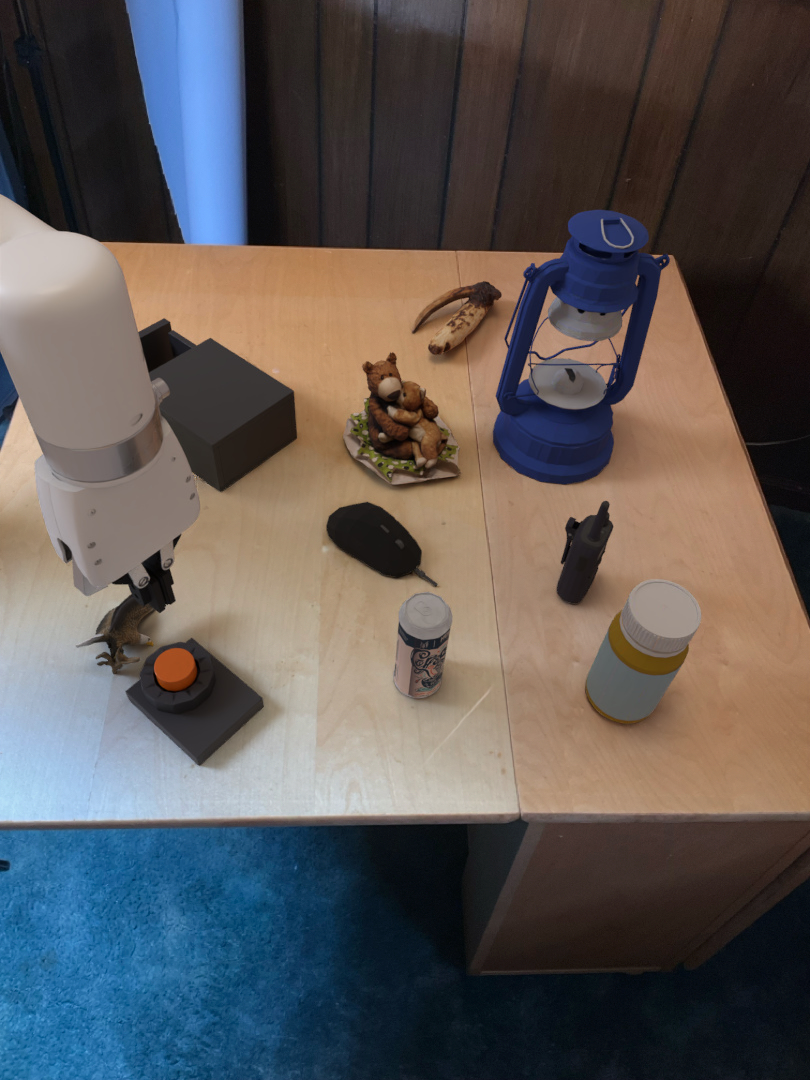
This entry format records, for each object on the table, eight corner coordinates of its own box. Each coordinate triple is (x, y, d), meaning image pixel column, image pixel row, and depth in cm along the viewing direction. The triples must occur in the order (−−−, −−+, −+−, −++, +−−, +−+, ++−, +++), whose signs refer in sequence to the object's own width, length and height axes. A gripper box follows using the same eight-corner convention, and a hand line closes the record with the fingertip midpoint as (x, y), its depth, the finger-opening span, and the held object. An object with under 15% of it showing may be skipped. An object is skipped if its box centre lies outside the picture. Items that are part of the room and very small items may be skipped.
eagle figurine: (170, 674, 77) (189, 589, 81) (112, 649, 72) (135, 559, 76) (115, 684, 80) (135, 602, 85) (56, 659, 75) (81, 573, 79)
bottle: (612, 651, 83) (656, 561, 71) (668, 697, 80) (723, 611, 68) (569, 690, 79) (607, 603, 68) (625, 740, 76) (675, 658, 65)
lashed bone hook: (451, 290, 123) (392, 348, 113) (454, 261, 120) (393, 318, 109) (507, 308, 120) (451, 369, 110) (511, 279, 117) (454, 340, 106)
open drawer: (72, 374, 104) (59, 337, 99) (143, 335, 110) (134, 298, 105) (170, 446, 97) (162, 409, 92) (241, 400, 103) (236, 364, 98)
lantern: (504, 491, 96) (553, 266, 73) (471, 407, 105) (506, 184, 82) (637, 475, 99) (725, 254, 76) (594, 395, 108) (661, 176, 85)
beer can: (418, 710, 77) (428, 643, 68) (382, 679, 79) (387, 610, 70) (451, 678, 80) (464, 609, 70) (415, 649, 81) (424, 578, 72)
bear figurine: (375, 504, 94) (378, 426, 84) (329, 422, 102) (328, 343, 93) (479, 474, 98) (493, 396, 88) (427, 397, 106) (434, 319, 97)
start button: (149, 675, 74) (145, 665, 73) (179, 650, 76) (176, 640, 75) (174, 698, 73) (171, 689, 72) (205, 672, 75) (202, 663, 74)
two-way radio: (578, 612, 86) (614, 519, 74) (540, 594, 87) (569, 500, 75) (596, 576, 89) (633, 482, 77) (559, 559, 90) (590, 464, 78)
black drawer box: (139, 433, 99) (126, 385, 93) (217, 385, 106) (210, 337, 100) (220, 492, 94) (211, 445, 88) (297, 438, 100) (294, 390, 94)
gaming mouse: (418, 604, 85) (421, 582, 82) (315, 533, 90) (314, 509, 87) (454, 569, 88) (458, 546, 85) (352, 502, 94) (352, 478, 91)
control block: (126, 698, 76) (118, 680, 74) (192, 644, 80) (187, 625, 78) (199, 766, 72) (193, 749, 70) (264, 706, 77) (261, 688, 74)
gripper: (155, 353, 57) (196, 523, 71) (-40, 463, 49) (49, 630, 63) (228, 400, 54) (255, 568, 68) (33, 526, 46) (109, 685, 60)
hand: (155, 597), depth 66 cm, fingers closed
